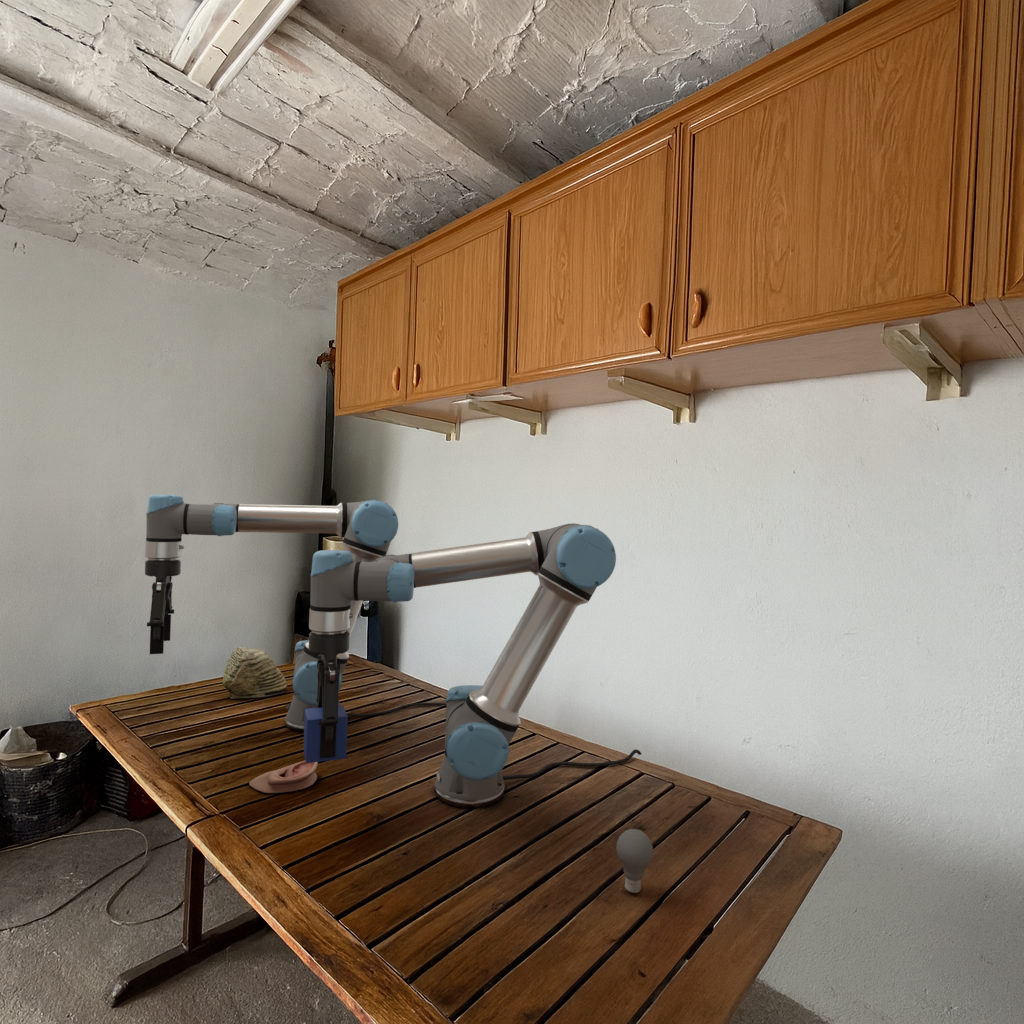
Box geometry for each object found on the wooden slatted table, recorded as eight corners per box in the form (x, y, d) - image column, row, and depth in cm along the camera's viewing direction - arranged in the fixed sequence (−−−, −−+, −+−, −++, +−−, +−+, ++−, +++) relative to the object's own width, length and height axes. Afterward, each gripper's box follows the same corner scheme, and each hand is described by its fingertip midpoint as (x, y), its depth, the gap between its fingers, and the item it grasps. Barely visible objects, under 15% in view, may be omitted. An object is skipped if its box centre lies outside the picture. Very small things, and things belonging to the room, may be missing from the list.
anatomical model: (241, 770, 135) (272, 750, 146) (240, 789, 135) (271, 767, 146) (297, 779, 132) (324, 757, 144) (297, 798, 132) (324, 775, 144)
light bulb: (610, 879, 108) (613, 822, 108) (644, 879, 109) (647, 822, 109) (619, 902, 102) (622, 840, 102) (655, 901, 103) (658, 840, 103)
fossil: (218, 695, 195) (220, 647, 195) (278, 685, 208) (279, 640, 207) (228, 703, 189) (230, 653, 188) (289, 692, 201) (290, 645, 201)
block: (306, 763, 118) (307, 720, 117) (303, 749, 124) (304, 708, 124) (346, 758, 120) (347, 716, 120) (342, 745, 127) (343, 705, 126)
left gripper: (175, 564, 142) (172, 658, 142) (185, 554, 165) (182, 635, 165) (136, 564, 139) (133, 660, 139) (152, 553, 162) (150, 636, 162)
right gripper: (357, 641, 114) (352, 767, 114) (343, 620, 132) (339, 729, 133) (313, 643, 111) (309, 773, 112) (305, 621, 129) (301, 733, 130)
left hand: (160, 647), depth 152 cm, fingers open, 13 cm apart
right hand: (325, 749), depth 122 cm, fingers closed on block, 7 cm apart
